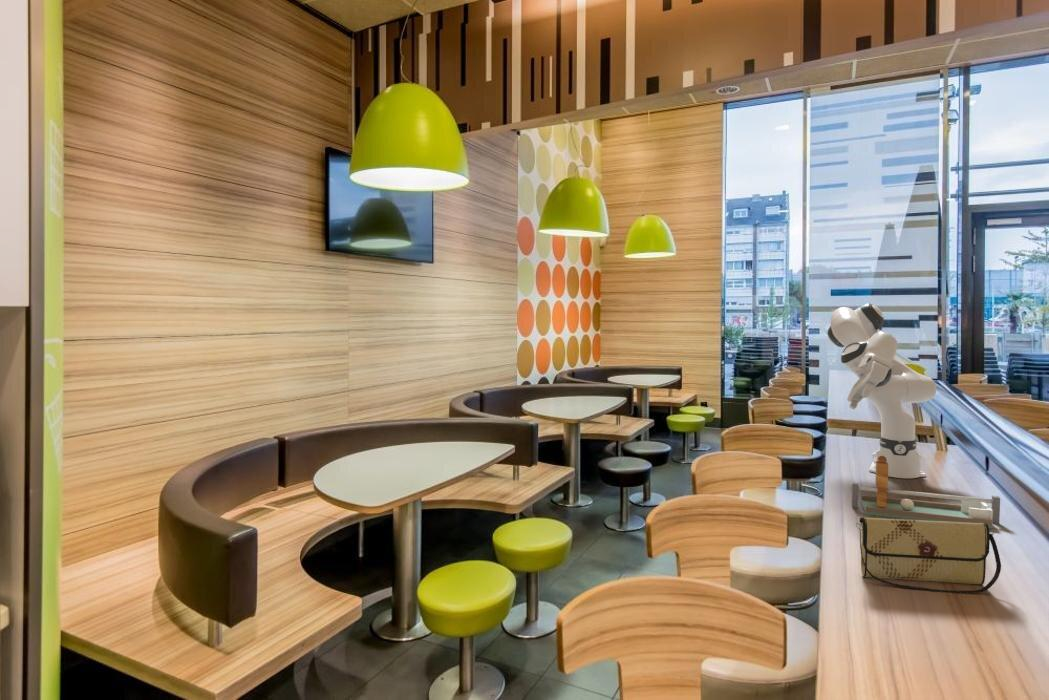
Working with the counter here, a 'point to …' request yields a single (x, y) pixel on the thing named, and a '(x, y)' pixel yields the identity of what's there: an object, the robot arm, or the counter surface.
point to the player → (881, 481)
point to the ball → (907, 504)
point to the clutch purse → (926, 551)
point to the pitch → (931, 507)
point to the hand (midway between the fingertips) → (858, 402)
